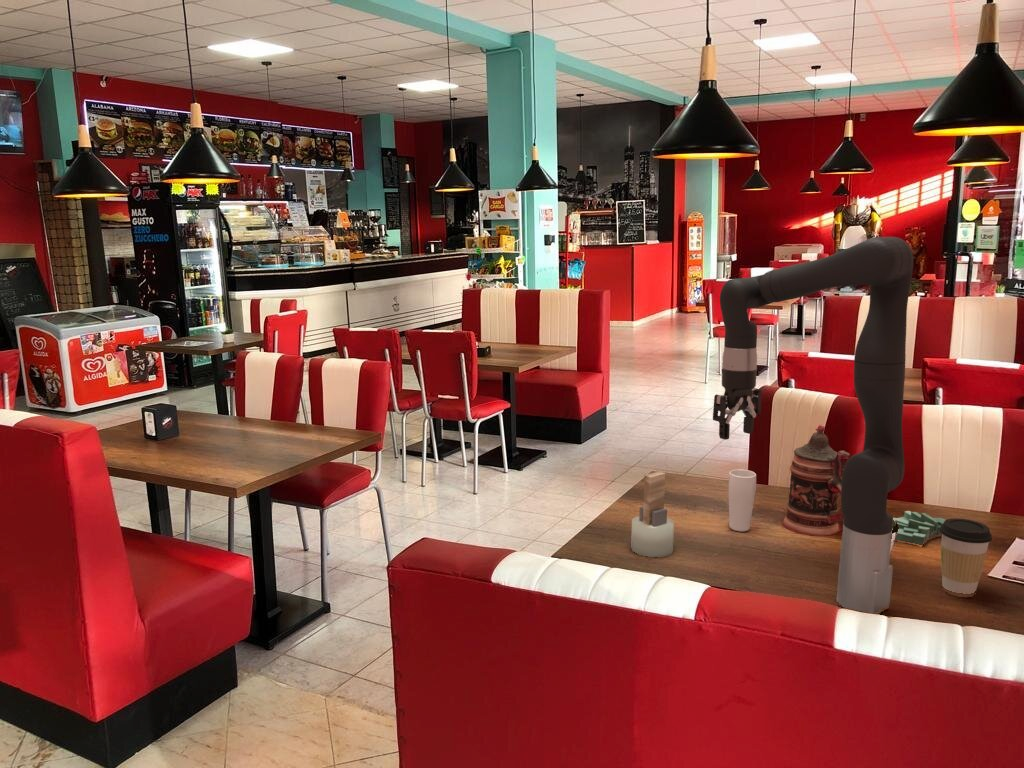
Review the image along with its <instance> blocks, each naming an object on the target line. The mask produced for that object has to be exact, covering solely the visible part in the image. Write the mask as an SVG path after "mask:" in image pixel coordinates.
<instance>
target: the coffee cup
mask: <svg viewBox="0 0 1024 768" xmlns="http://www.w3.org/2000/svg"><path fill="white" fill-rule="evenodd" d="M939 531H940V533H941V534H942V536H941V542H940V564H941V565H940V569H941V570H940V573H941V577H942V578H941V580H942V581H941V583H942V584H941V585H942V586H943V587H944V588H945V589H947V590H949V591H952V592H956V593H963V594H971V593H974V592H975V591H976V592H977V589H978V584H979V582H980V579H981V576H982V573H983V570H984V564H985V561H986V558H987V553H988V548H989V544H990V542H991V541H992V540H993V536H992V533H991V531H990V527H989V526H987V525H986V524H984V523H982V522H979V521H976V520H972V519H967V518H957V517H956V518H948V519H945V521H944V523H943V525H941V527H940V529H939Z"/></svg>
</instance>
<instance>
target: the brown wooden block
mask: <svg viewBox="0 0 1024 768" xmlns="http://www.w3.org/2000/svg"><path fill="white" fill-rule="evenodd" d="M643 479H644V480H643V481H644V482H643V505H642V506H643V523H644V524H647V525H652V512H653V511H657V510H660V509H663V508H665V489H666V473H665V472H662V471H656V472H650V473H648V474H644V478H643Z"/></svg>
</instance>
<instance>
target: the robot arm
mask: <svg viewBox="0 0 1024 768" xmlns="http://www.w3.org/2000/svg"><path fill="white" fill-rule="evenodd" d="M913 253H914V252H913V251H912V248H911V246H910V245H909V243H908V242H906V241H905V240H904V239H902V238H900V237H896V236H876V237H870V238H868V239H865V240H863V241H861V242H858V243H857V244H854V245H852V246H850V247H848V248H845V249H843V250H841V251H838V252H836V253H834V254H831V255H828V256H825V257H823V258H819V259H815V260H810V261H806V262H801V263H800V262H799V263H795V264H792V265H787V266H783V267H779V268H775V269H771V270H769V271H767V272H765V273H764V274H760V275H755V276H750V277H741V278H739V277H738V278H731V279H728V280H727V281H726V282H725V283H723V285H722V288H721V290H720V292H719V304H720V305H719V306H720V312H721V317H722V321H723V325H724V342H723V343H724V345H723V346H724V347H723V354H722V363H721V364H722V365H721V368H722V369H721V386H722V387H723V388H724V392H723V394H715V395H714V398H713V410H712V411H713V412H712V420H713V421H715V422H718V424H719V425H718V428H719V430H718V435H719V438H720V439H721V440H729V439H730V426H731V424H730V423H731V421H732V418H733V417H734V416H736V414H737V413H738V412H740V411H742V413H743V414H744V416H743V427H742V428H743V430H742V431H743V433H744V434H748V435H752V434H753V433H754V431H753V430H754V425H755V423H754V422H755V418H756V417H757V415H760V414H761V413H762V389H760V388H757V387H756V385H757V371H758V370H757V369H758V368H757V367H758V354H757V353H758V352H757V343H758V326H757V324H756V322H754V321H752V320H750V319H749V312H748V310H751V309H757V308H759V307H764V306H767V305H770V304H774V303H780V302H785V301H790V300H794V299H798V298H799V299H800V298H802V297H803V298H804V297H806V296H809V295H812V294H815V293H817V292H821V291H823V290H827V289H831V288H837V287H843V286H847V287H848V286H864V285H866V286H868V285H869V307H868V312H867V314H866V315H867V316H866V319H865V321H864V325H863V326H862V327H863V328H862V329H861V332H860V334H859V337H858V340H857V343H856V346H855V351H854V361H853V363H854V364H853V385H854V392H855V395H856V398H857V401H858V403H859V406H860V408H861V411H862V414H863V417H864V443H863V448H862V451H861V452H858V453H855V454H853V455H851V456H849V457H850V458H848V459H846V461H845V462H844V465H845V466H844V468H843V473H842V486H841V494H840V508H841V510H842V513H843V516H844V518H843V519H842V520H843V523H842V528H843V529H842V530H841V531H842V532H841V533H842V534H841V545H840V554H839V555H840V557H839V567H838V578H837V579H838V580H837V589H836V602H839V604H841V605H842V607H845V608H849V609H854V610H858V611H863V612H869V613H876V612H879V610H882V609H883V608H885V607H886V606H888V605H889V606H890V600H891V590H892V582H893V571H894V566H893V565H892V564H890V557H891V556H890V555H891V547H892V541H891V539H892V530H893V518H894V517H893V516H892V514H891V513H889V512H888V510H887V508H888V507H887V504H888V493H890V492H892V491H893V490H895V489H897V488H898V487H899V486H900V485H901V483H902V481H903V479H904V475H905V455H904V443H903V413H904V395H905V394H904V391H905V390H904V389H905V378H906V377H905V376H906V357H907V356H906V355H907V354H906V346H907V345H906V344H907V342H906V339H907V320H908V319H907V315H908V313H907V312H908V304H909V303H908V302H909V296H910V288H911V283H912V277H913V270H914V254H913ZM755 405H756V406H755ZM755 407H756V408H755ZM839 604H838V605H839ZM842 607H841V608H842ZM866 610H867V611H866ZM878 615H879V613H878Z"/></svg>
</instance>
